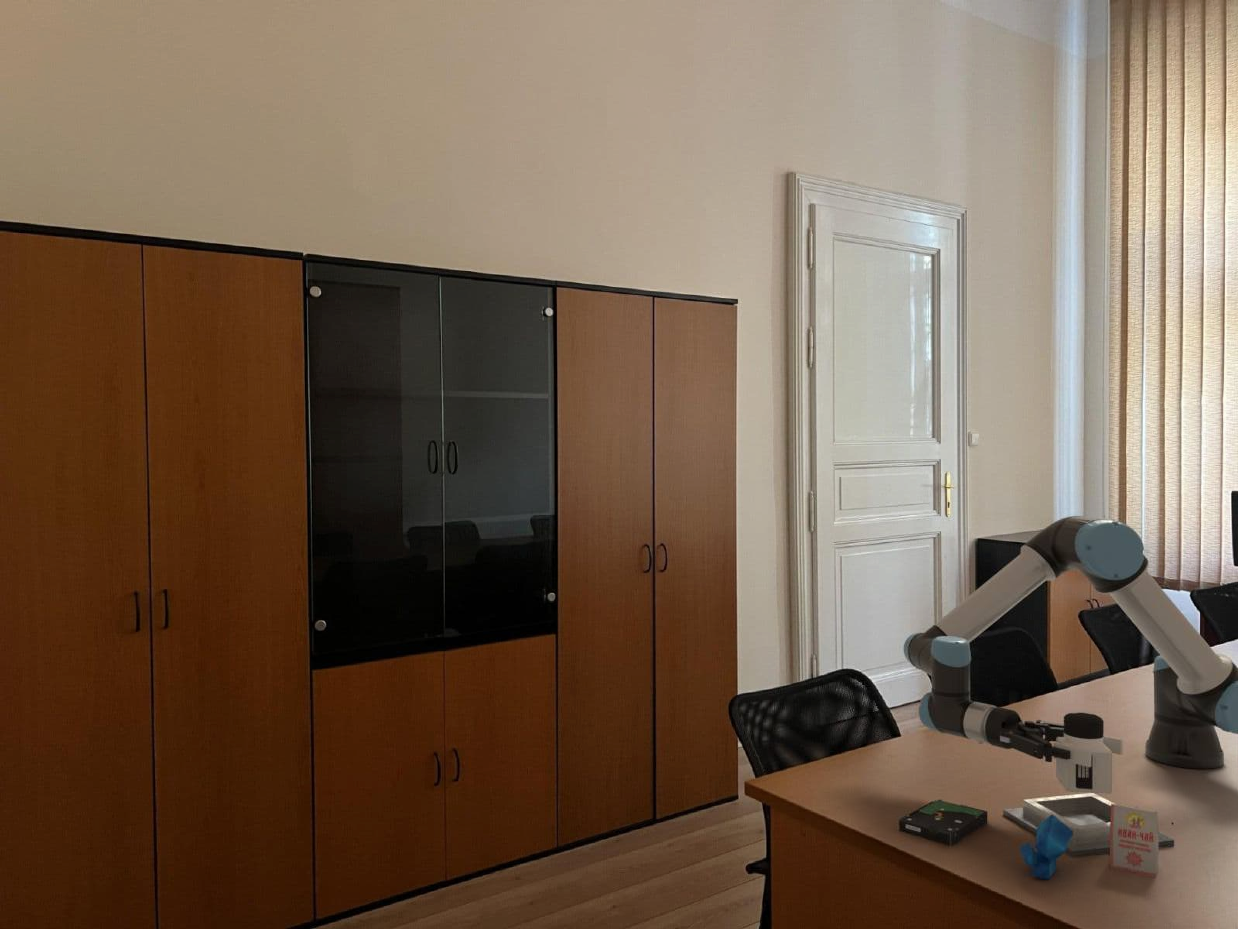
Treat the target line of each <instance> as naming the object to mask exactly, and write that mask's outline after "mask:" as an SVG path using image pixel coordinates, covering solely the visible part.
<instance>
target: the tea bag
mask: <svg viewBox="0 0 1238 929" xmlns="http://www.w3.org/2000/svg"><path fill="white" fill-rule="evenodd" d="M1158 822H1159V821H1158V811H1156V810H1149V809H1144V808H1137V807H1131V806H1126V805H1122V804H1117V803H1114V804H1111V819H1110V853H1109V868H1112V869H1117V870H1121V871H1122V870H1123V871H1127V872H1131V873H1135V874H1136V873H1137V874H1141V875H1146V876H1149V877H1156V878H1157V876H1158V875H1157V874H1158V871H1159V866H1160V864H1159V862H1160V860H1159V853H1160V852H1159V848H1160V847H1158V832H1159V823H1158Z"/></svg>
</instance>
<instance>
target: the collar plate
mask: <svg viewBox="0 0 1238 929" xmlns="http://www.w3.org/2000/svg"><path fill="white" fill-rule="evenodd" d="M1111 804H1115V802H1112V801H1110V800H1108V799H1106V798H1104V797H1102V796H1100V795H1098V794H1097V793H1089V792H1085V793H1078V794H1076V793H1075V794H1068V795H1059V796H1048V797H1037V798H1036V797H1035V798H1025V799H1022V807H1015V808H1005V809H1004V808H1003V809H1002V810H1003V811H1002V813H1003V814H1002V815H1004V816H1005V817H1007V818H1008V819H1010V820H1012V821H1013V822H1015V823H1016V824H1018V825H1019V826H1021V827H1022V828H1025V830H1027V831H1030V832H1032V833H1033V834H1034V835H1036V836H1037V829H1038V825H1040V824H1041V823H1042V822H1043V821H1044V820H1046V819H1047V818H1048V817H1049V816H1050V815H1054V816H1055V817H1057V818H1058V819H1059V820H1060V821H1061V822H1062V823H1064V824H1065V825H1066V826H1067V827H1068V828H1070V829H1071V830H1072V831H1073V835H1072V837H1071V839H1070V842H1069V844H1068V846H1067V848H1066V850H1065V852H1064V854H1065V853H1066V854H1068V855H1069V856H1070V857H1072V858H1077V857H1084V856H1097V855H1105V854H1110V819H1111ZM1174 846H1175V839H1173V838H1171V837H1170V836H1168V835H1165V834H1163V833H1161V832H1159V831H1158V847H1159V848H1166V847H1167V848H1168V847H1174Z"/></svg>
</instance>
